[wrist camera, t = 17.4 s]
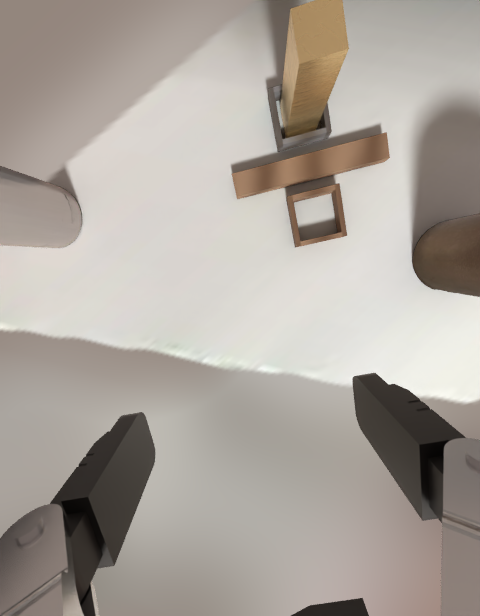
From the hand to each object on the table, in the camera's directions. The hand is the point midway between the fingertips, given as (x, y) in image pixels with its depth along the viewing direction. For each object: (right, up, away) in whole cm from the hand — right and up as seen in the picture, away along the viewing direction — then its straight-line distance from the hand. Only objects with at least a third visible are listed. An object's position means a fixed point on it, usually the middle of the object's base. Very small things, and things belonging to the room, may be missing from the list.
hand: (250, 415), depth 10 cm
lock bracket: (+9, +23, +26) cm, 36 cm away
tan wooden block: (+7, +29, +25) cm, 39 cm away
